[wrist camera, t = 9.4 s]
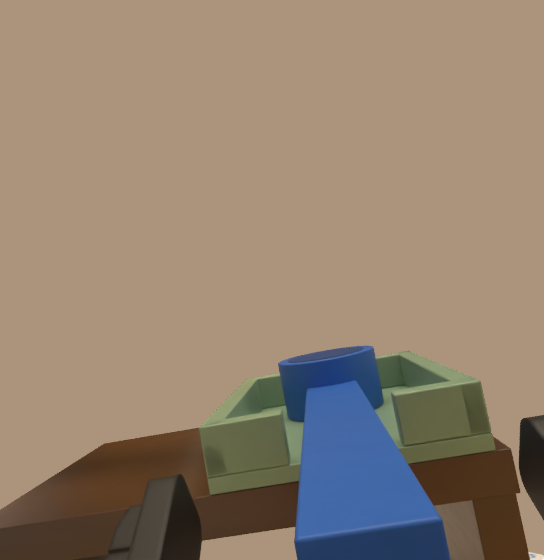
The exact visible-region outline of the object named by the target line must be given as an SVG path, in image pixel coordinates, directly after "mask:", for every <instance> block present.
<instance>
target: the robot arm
mask: <svg viewBox="0 0 544 560" xmlns="http://www.w3.org/2000/svg"><path fill="white" fill-rule="evenodd" d="M520 424H521V425H520V447H519V448H520V449H519V470H520V475H521V479H522V482H523V484H524V487H525V489H526V491H527V493H528V495H529V496H530V498H531V500H532V502H533V503H534V505H535V506H536V508H537V510H538V511H539V513H540V515H541V516H542V518H543V520H544V415H542V416H535V417H529V418H523V419H522V420H521V423H520ZM201 543H202V529H201V522H200V517H199V514H198V511H197V509H196V506H195V504H194V501H193V499H192V496H191V494H190V491H189V489H188V486H187V484H186V481H185V479H184V477H183V475H182V474H177V475H171V476H165V477H159V478H153V479H150V480H149V481H148V483H147V486H146V490H145V493H144V497H143V501H142V504H141V505H134V506H129V508H128V509H127V511H126V512H125V514H124V515H123V517H122V518H121V520H120V521H119V523H118V524H117V525H116V527H115V529H114V533H113V536H112V539H111V542H110V546H109V549H108V555H106V559H105V560H199V559H200V551H201Z"/></svg>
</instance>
